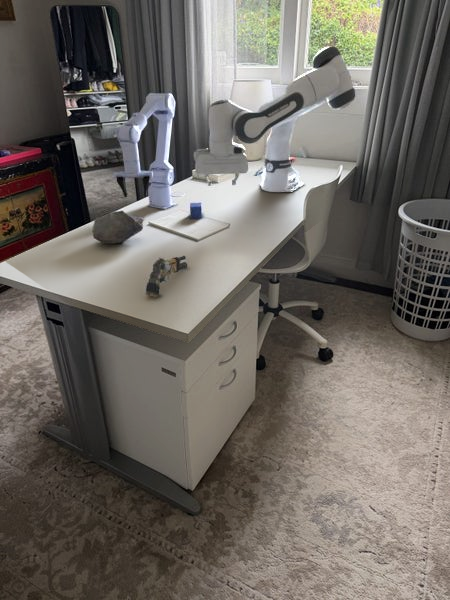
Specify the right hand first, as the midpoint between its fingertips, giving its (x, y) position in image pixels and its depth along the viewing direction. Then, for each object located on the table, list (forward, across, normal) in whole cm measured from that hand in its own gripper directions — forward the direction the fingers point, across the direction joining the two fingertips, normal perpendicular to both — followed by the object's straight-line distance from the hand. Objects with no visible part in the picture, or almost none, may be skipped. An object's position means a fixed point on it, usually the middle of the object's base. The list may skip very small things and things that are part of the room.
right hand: (221, 185), depth 164 cm
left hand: (+3, -34, 0) cm, 34 cm away
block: (+13, -10, +1) cm, 16 cm away
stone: (+13, -38, -23) cm, 46 cm away
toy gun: (+13, -20, -56) cm, 61 cm away
